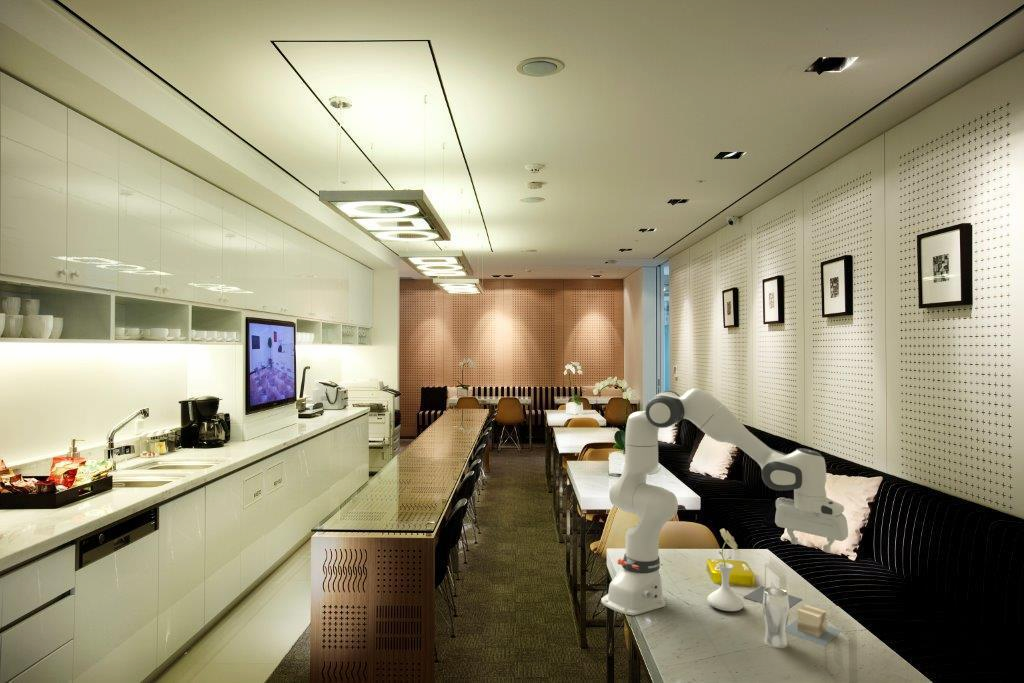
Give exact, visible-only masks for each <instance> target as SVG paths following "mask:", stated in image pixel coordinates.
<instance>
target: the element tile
mask: <svg viewBox="0 0 1024 683" xmlns="http://www.w3.org/2000/svg"><path fill="white" fill-rule="evenodd" d="M724 560H725V559H724ZM724 562H725V563H729V564H731V565H733V566H734V567H733V568H732V570H731V572H730V576H729V584H733V585H732V586H745V587H753V586H755V573H754V571H753V570H752V568H751V567H750V565H749V564H748V563H747V561H744V560H736V559H735V560H734V559H733V560H731V559H728V560H725V561H724ZM724 562H723V559H719V558H707V560H706V572H707V574H708V577H709V578H711V579H710V581H711V580H712V581H713V582H712V581H711V582H712V583H714V582H715V583H714V584H717V583H721V584H720V585H722V574H721V570H720V568H719V566H718V563H724Z"/></svg>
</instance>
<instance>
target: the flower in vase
mask: <svg viewBox="0 0 1024 683" xmlns="http://www.w3.org/2000/svg"><path fill="white" fill-rule="evenodd" d="M719 532H720V535H721V537H722V538H723V540H724V543H723V546H722V548H721V550H720V549H719V550H718V554H720V555H721V557H722V560H723V562H724V561H725V560H731V556H730V557H728V558H725V557H724V555H723V554H724V553H723V552H724V549H725V545H726V544H727V545H728V546H729V547H730V548H731V549H733V550H734V551H737V550H738V544H737V542H736V541H735V538H734V536H732V535H731V534H730V532H729V531H728V530H726V529H725V528H721V529H720V530H719ZM718 566H719V568H720V570H721V574H722V584H720V585H721V586H720V587H719V588H717V589H716V590H714V591H713V592H711V593H710V594H709V595H708V596H707V598H706V599H707V602H708V604H709V605H710V606H711V607H713V608H715V609H717V610H721V611H724V612H737V611H740V610H742V609H743V608H744V606H745V604H744V601H743V599H742V598H741V597H740V596H738V595H737V594H736V593H735V592H734V590H732V589H731V587H730V585H729V576H730V572H731V570H732V568H733V567H734V566H733V565H731V564H729V563H725V562H724V563H718Z"/></svg>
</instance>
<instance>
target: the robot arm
mask: <svg viewBox="0 0 1024 683" xmlns="http://www.w3.org/2000/svg"><path fill="white" fill-rule="evenodd" d="M685 419H686V420H688V421H690V422H691V423H692V424H694V425H695V426H696V428H698V429H699V430H700V431H702V432H703V433H704V434H706V436H707V437H710V438H711V439H712V440H715V441H716V442H720V443H726V444H727V443H728V444H732V445H734V446H736V447H738V448H739V449H740V450H742V451H743V452H744V453H745V454H747V455H748V456H749V457H750V458H751V459H752V460H754V461H755V462H756V463H757V465H759V467H760V468H761V479H762V481H763V483H764V485H766V486H767V487H768V488H769V489H770V490H774V491H780V492H781V491H792V490H793V498H789V497H788V498H786V497H782V496H781V497H779V498H777V499H776V500H775V508H776V509H775V510H776V511H775V518H774V522H775V524H776V526H777V527H779V528H782V529H783V528H784V529H786V534H788V537H789V538H790V543H791V544H793V545H797V544H799V543H798V542H799V541H798V540H799V538H798V537H796V535H795V534H794V532H795V531H796V532H799V533H800V532H801V533H804V534H808V535H814V536H817V537H822V538H826V541H827V544H824V545H823V546H822V547H823V548H822V549H823V550H822V551H823V552H825V553H828V554H830V552H831V548H832V547H831V546H832V545H833V544H834V543H835V541H838V542H843V541H845V540H847V539H848V537H849V527H848V521H847V517H846V516H845V514H844V513H843V512H844V511H845V506H844V505H842V504H841V503H839V502H837V501H835V500H832V499H831V498H828V497H827V491H826V482H827V466H826V460H825V457H824V456H823V455H822V454H821V453H820V452H818V451H815V450H812V449H809V448H796V449H795V450H794V451H792V452H791V453H785V452H782V451H779V450H776V449H774V448H771V447H770V446H768V445H767V444H766V443H765V442H763V441H762V440H761V439H759V438H758V437H757V436H756V435H754V434H753V433H752V432H750V431H749V429H747V428H746V427H745V426H744V424H743V423H742V422H741V421H740V419H739V418H738V417H737V416H736V415H735V414H734V413H733V411H731V410H730V409H729V408H728V407H727V406H726V405H725V404H723V403H722V401H720V400H718V399H717V398H716V397H715V396H713V395H711V394H710V393H709V392H706V391H705V390H704V389H702V388H699V387H694V388H690V389H688V390H687V391H686V392H685V393H684V394H682V395H680V394H678V393H677V392H675V391H671V390H665V391H662V392H659V393H657V394H655V395H654V396H653V397H652V398H650V399H649V400H648V401H647V403H646V406H645V409H644V410H638V411H634V412H632V413H631V414H629V415H628V418H627V422H626V425H625V426H626V427H625V435H624V436H625V440H624V442H625V443H624V444H625V445H624V446H625V447H624V449H625V450H624V454H625V455H624V467H623V471H622V473H621V475H620V476H619V478H618V479H617V480H615V481H614V482H613V483H612V484H611V486H610V489H609V493H608V494H609V501H610V504H612V505H613V506H614V507H616V508H617V509H618V510H621V511H623V512H626V513H630V514H633V515H637V516H638V520H637V523H636V524H635V525H633V526H631V527H629V528H628V530H626V533H625V553H624V555H623V559H622V558H619V557H618V559H617V565H619V566H621V568H620V569H619V571H618V572H617V574H616V575H615V576H614V578H613V579H612V580H611V582H610V583H609V584H608V586H609V587H608V593H607V594H605V595H604V596H603V597H601V598H600V599H601V600H600V603H601V604H602V605H603V606H605V607H607V608H609V609H610V610H613V611H615V612H618V613H621V614H624V615H629V616H637V615H640V614H644V613H647V612H651V611H654V610H657V609H660V608H663V607H666V606H667V603H666V601H665V600H664V592H663V591H664V590H663V581H662V579H663V578H662V576H661V575H660V574H661V573H660V568H661V567H660V566H661V559H660V556H659V545H660V534H661V532H662V529H663V527H664V526H665V525H666V523H667V522H669V521H671V520H672V519H673V518H674V517H675V515H676V514H677V512H678V510H679V509H678V507H679V502H678V499H677V495H675V493H674V492H672V491H670V490H668V489H667V488H664V487H661V486H657V485H653V484H650V483H649V484H648V483H647V476H648V474H651V473H653V472H654V471H656V469H657V468H658V466H659V437H658V436H659V430H660V429H662V428H663V429H664V428H669V427H671V426H673V425H675V424H676V423H678V422H680V421H682V420H685Z"/></svg>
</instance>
